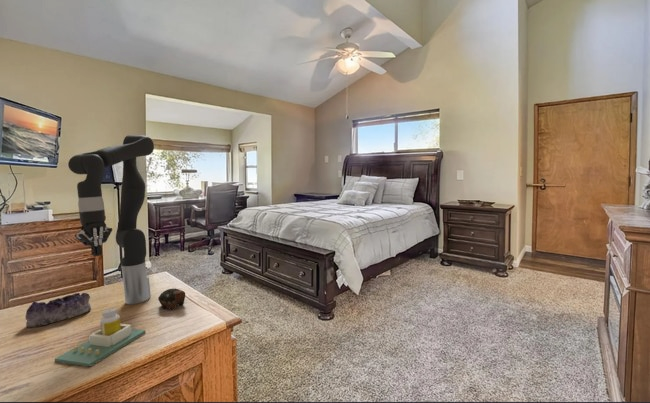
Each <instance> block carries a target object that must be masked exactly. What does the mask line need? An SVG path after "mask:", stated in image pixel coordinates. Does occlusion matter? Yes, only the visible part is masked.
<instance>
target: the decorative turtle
mask: <svg viewBox="0 0 650 403" xmlns="http://www.w3.org/2000/svg"><path fill="white" fill-rule="evenodd" d="M157 299H158V301H159V304H160V305H161V307H162V308H163V309H164V310H166V309H169V310H170V311H174V310H175V309H176V307H177V306H181V307H182V306H183V305H184V304H185V299H186V292H185V291H184V290H182V289H180V288H169V289H166V290H164V291H162V292H161V293H160V294H159V296H158V298H157Z"/></svg>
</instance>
